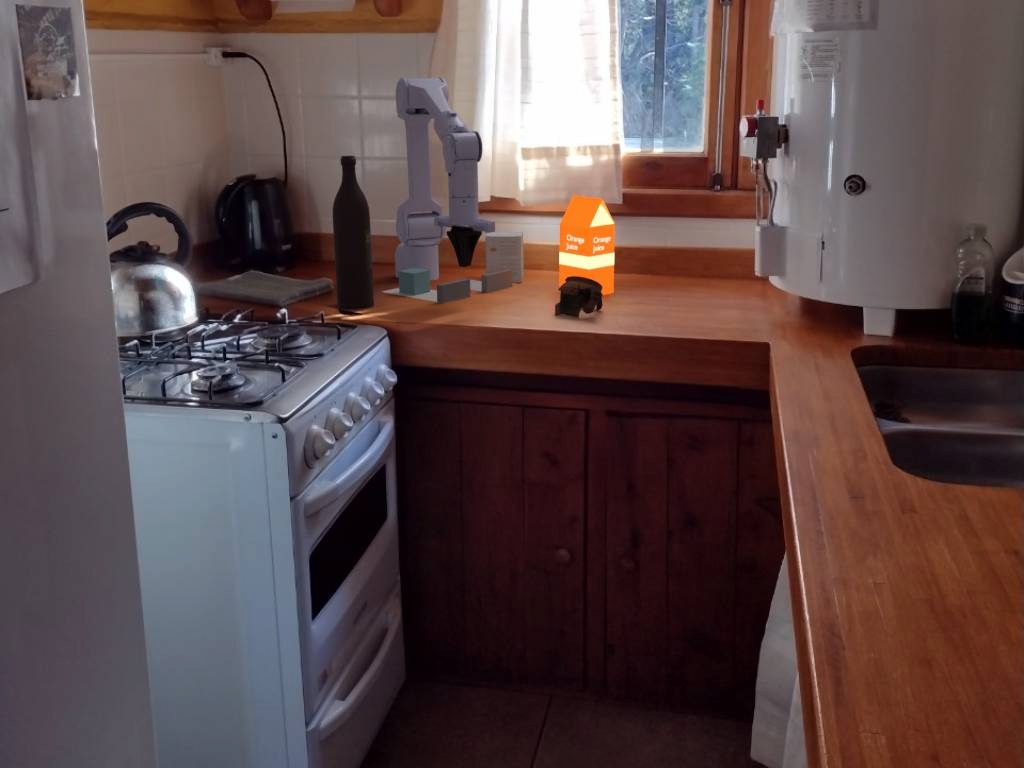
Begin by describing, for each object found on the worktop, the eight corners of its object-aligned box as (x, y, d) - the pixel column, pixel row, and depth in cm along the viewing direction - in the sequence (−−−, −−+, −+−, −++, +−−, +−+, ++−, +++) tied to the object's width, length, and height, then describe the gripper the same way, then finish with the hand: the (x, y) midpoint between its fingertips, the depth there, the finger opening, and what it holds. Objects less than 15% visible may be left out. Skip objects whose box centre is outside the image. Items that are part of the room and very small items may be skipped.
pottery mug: (542, 315, 207) (553, 275, 208) (580, 331, 211) (591, 292, 212) (576, 310, 196) (587, 268, 198) (616, 327, 201) (626, 286, 202)
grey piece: (381, 296, 221) (380, 275, 219) (409, 290, 227) (408, 269, 225) (442, 308, 209) (442, 285, 208) (470, 301, 215) (470, 279, 214)
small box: (524, 278, 240) (523, 231, 237) (521, 283, 234) (521, 235, 231) (488, 278, 240) (488, 231, 237) (485, 283, 235) (485, 235, 232)
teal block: (399, 292, 219) (398, 271, 218) (415, 289, 223) (414, 267, 221) (414, 295, 217) (413, 273, 215) (430, 291, 220) (429, 270, 218)
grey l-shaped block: (438, 288, 228) (438, 268, 226) (464, 283, 233) (464, 262, 232) (487, 297, 219) (486, 275, 217) (512, 291, 225) (512, 270, 223)
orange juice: (588, 298, 219) (589, 200, 213) (558, 291, 225) (558, 196, 219) (614, 292, 224) (616, 197, 218) (584, 286, 230) (585, 193, 224)
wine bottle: (375, 314, 206) (367, 157, 197) (338, 316, 205) (329, 158, 196) (373, 307, 212) (366, 154, 204) (337, 308, 211) (329, 155, 203)
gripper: (422, 195, 206) (424, 264, 210) (476, 200, 197) (478, 273, 201) (447, 192, 211) (449, 259, 215) (502, 197, 202) (502, 267, 206)
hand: (465, 266), depth 208 cm, fingers closed
